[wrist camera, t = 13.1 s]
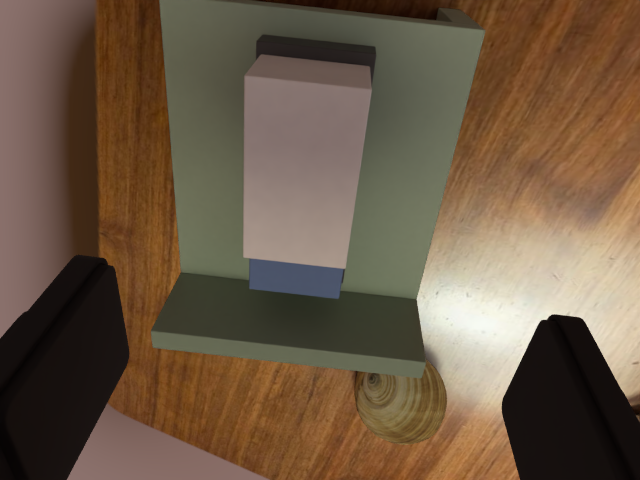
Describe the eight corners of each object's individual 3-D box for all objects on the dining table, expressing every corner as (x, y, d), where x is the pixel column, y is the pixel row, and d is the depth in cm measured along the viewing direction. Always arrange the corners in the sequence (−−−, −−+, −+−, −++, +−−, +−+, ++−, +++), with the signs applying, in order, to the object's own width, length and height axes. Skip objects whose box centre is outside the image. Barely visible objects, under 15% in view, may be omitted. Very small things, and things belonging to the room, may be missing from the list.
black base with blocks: (261, 33, 21) (238, 60, 17) (375, 46, 21) (379, 75, 17) (256, 257, 28) (238, 316, 24) (343, 267, 28) (341, 328, 24)
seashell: (425, 363, 45) (494, 397, 39) (390, 433, 44) (454, 481, 37) (353, 319, 41) (416, 350, 34) (311, 397, 40) (368, 444, 33)
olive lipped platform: (197, -19, 26) (107, 10, 17) (461, 9, 26) (518, 56, 16) (207, 235, 34) (152, 348, 25) (404, 257, 34) (421, 379, 25)
